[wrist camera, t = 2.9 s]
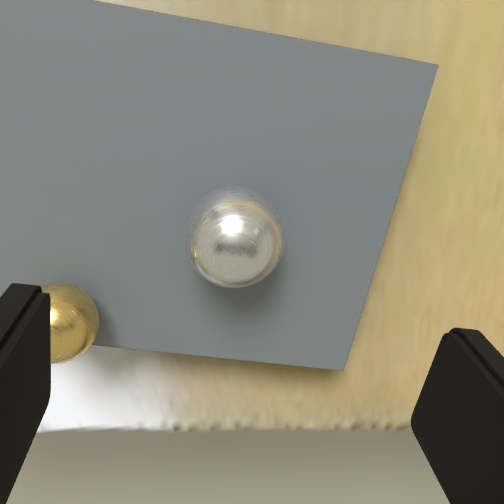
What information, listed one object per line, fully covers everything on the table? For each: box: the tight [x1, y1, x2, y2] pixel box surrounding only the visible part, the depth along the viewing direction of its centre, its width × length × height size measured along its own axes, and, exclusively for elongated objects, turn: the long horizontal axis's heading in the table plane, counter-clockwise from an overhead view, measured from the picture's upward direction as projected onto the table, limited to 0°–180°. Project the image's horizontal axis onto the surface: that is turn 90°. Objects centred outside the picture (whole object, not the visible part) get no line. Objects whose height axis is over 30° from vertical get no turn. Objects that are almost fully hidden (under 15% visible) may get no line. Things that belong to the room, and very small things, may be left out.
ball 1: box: [41, 282, 99, 364], centre depth 18 cm, size 3×3×3 cm
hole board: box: [0, 0, 439, 371], centre depth 18 cm, size 26×13×2 cm, turn 80°
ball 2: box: [183, 186, 285, 288], centre depth 17 cm, size 4×4×4 cm
